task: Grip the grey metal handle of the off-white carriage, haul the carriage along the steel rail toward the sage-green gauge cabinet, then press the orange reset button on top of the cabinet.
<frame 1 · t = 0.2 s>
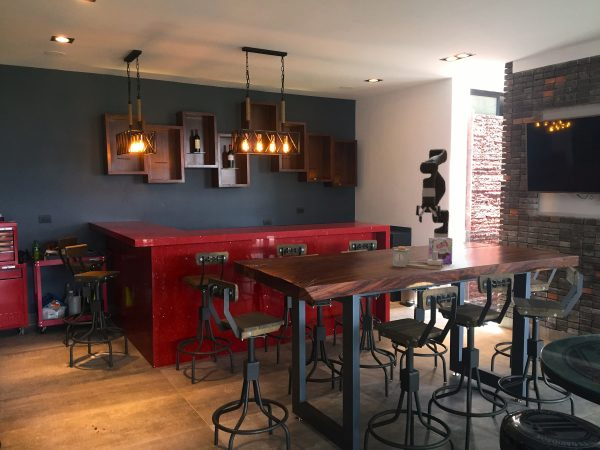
hand: (428, 222, 301), 27 cm above the table, tool pointing down, fingers open, 8 cm apart
rail board: (424, 267, 308), on the table
carriage: (435, 258, 304), point 6 cm above the table, slide at 0.0 cm
reset button: (401, 250, 313), point 10 cm above the table, slide at 0.0 cm
gauge cabinet: (401, 265, 314), on the table
candy box: (440, 263, 321), on the table
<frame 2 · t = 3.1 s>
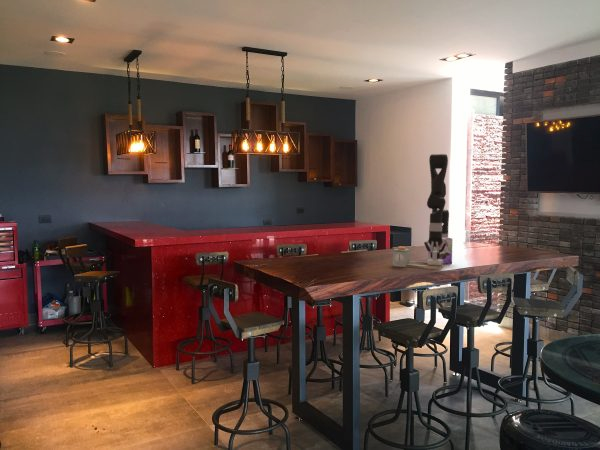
hand: (435, 258, 304), 6 cm above the table, tool pointing down, fingers closed on carriage, 2 cm apart
carriage: (435, 258, 304), point 6 cm above the table, slide at 0.0 cm, touching gripper
everything else where it was.
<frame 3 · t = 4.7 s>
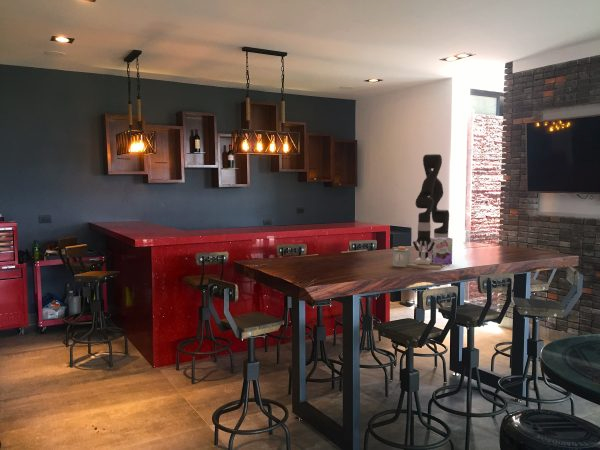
hand: (423, 257, 308), 6 cm above the table, tool pointing down, fingers closed on carriage, 2 cm apart
carriage: (423, 257, 308), point 6 cm above the table, slide at 6.9 cm, touching gripper
everything else where it was.
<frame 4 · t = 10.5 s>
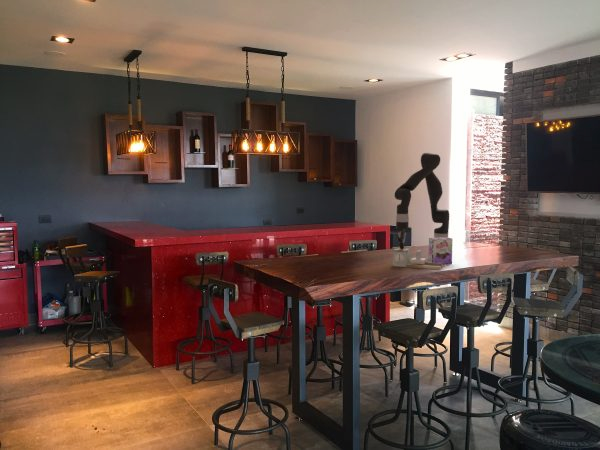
hand: (401, 248, 313), 10 cm above the table, tool pointing down, fingers closed
carriage: (418, 257, 309), point 6 cm above the table, slide at 9.9 cm
reset button: (401, 252, 313), point 8 cm above the table, slide at 1.2 cm, touching gripper
everything else where it was.
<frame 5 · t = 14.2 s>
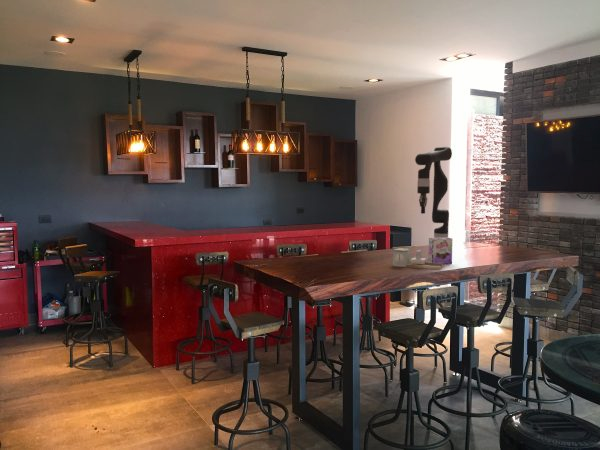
hand: (423, 213, 318), 32 cm above the table, tool pointing down, fingers closed
reset button: (401, 252, 313), point 8 cm above the table, slide at 1.5 cm
everything else where it was.
at the end: carriage slide at 9.9 cm; reset button slide at 1.5 cm; the gripper is holding nothing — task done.
